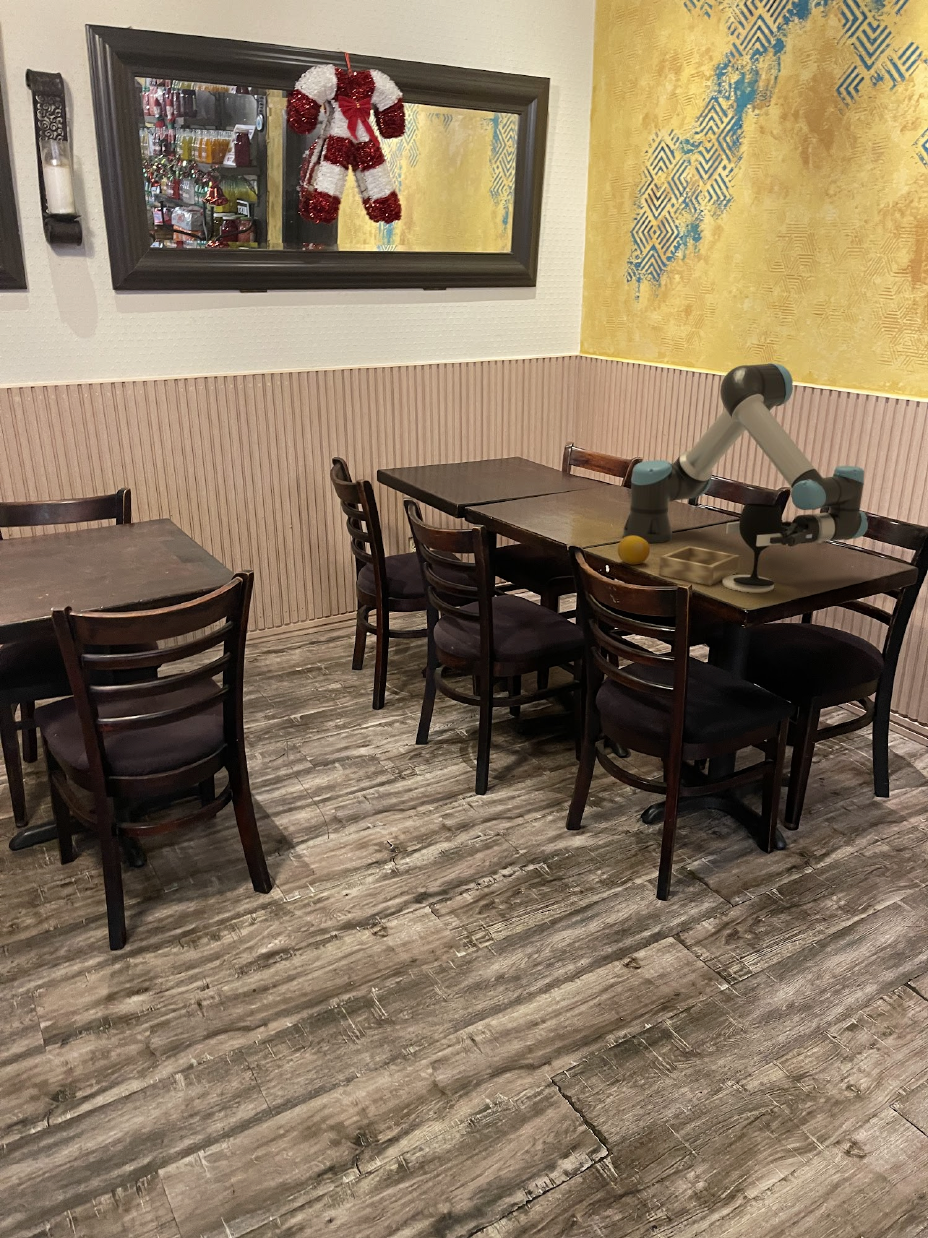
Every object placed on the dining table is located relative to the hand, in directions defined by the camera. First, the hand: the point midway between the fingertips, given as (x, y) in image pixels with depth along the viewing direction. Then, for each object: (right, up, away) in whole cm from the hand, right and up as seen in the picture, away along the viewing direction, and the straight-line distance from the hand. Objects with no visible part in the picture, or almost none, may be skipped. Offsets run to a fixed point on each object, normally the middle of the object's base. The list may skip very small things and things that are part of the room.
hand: (741, 534), depth 244 cm
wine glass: (+4, -12, +3) cm, 13 cm away
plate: (+3, -13, +5) cm, 14 cm away
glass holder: (-7, -9, +16) cm, 20 cm away
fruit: (-24, -6, +26) cm, 35 cm away
